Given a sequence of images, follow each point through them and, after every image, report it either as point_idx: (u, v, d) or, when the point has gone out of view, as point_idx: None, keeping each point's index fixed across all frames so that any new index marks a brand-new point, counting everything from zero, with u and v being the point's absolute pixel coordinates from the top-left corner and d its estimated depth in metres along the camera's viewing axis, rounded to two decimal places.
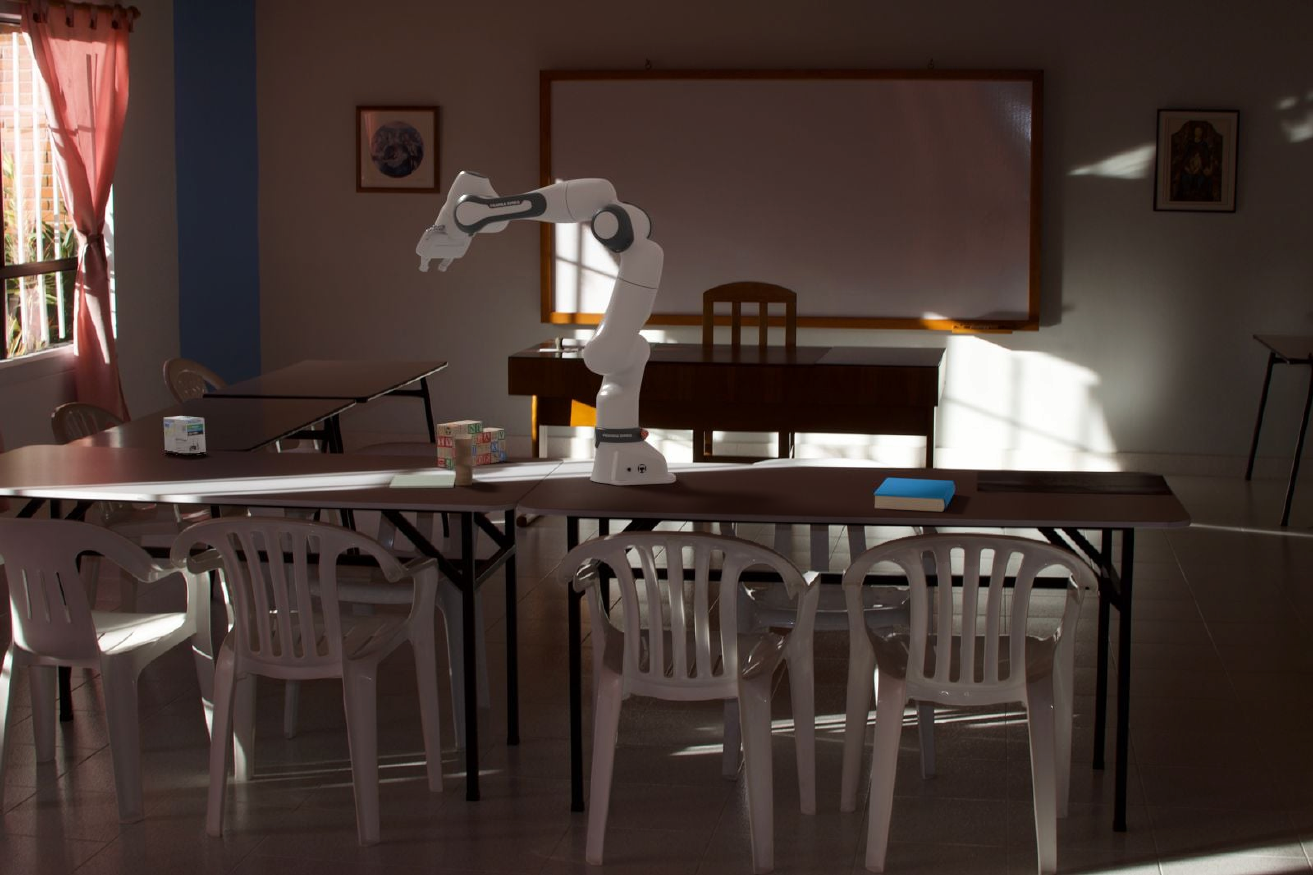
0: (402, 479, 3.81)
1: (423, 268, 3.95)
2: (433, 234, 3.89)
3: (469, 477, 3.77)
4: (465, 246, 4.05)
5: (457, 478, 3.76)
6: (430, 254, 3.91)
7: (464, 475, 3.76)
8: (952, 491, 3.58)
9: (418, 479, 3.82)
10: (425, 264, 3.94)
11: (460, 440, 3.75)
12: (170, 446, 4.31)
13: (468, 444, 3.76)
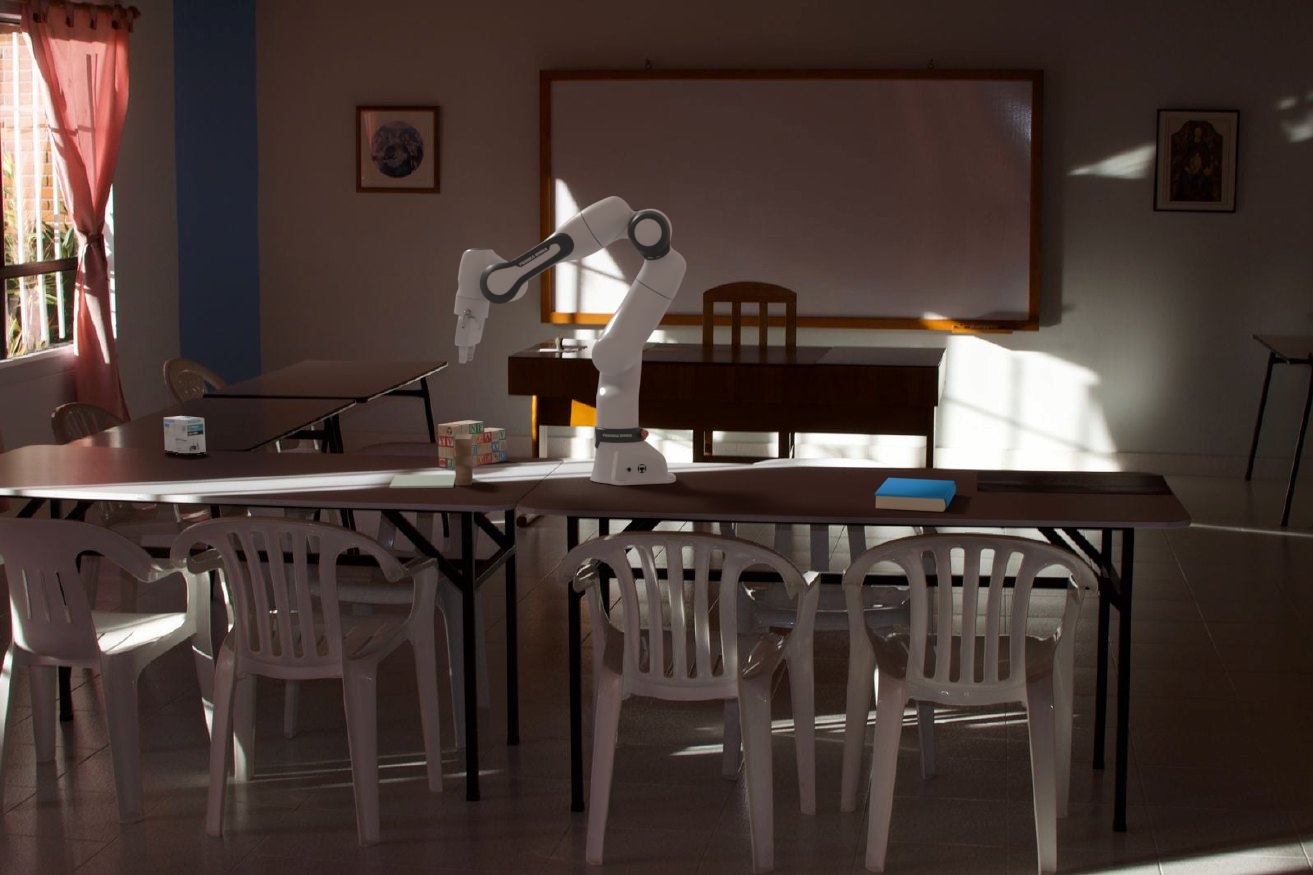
0: (402, 479, 3.81)
1: (463, 359, 3.77)
2: (468, 319, 3.73)
3: (469, 477, 3.77)
4: (481, 329, 3.90)
5: (457, 478, 3.76)
6: (470, 341, 3.74)
7: (464, 475, 3.76)
8: (953, 491, 3.58)
9: (418, 479, 3.82)
10: (465, 354, 3.77)
11: (460, 440, 3.75)
12: (170, 446, 4.31)
13: (468, 444, 3.76)
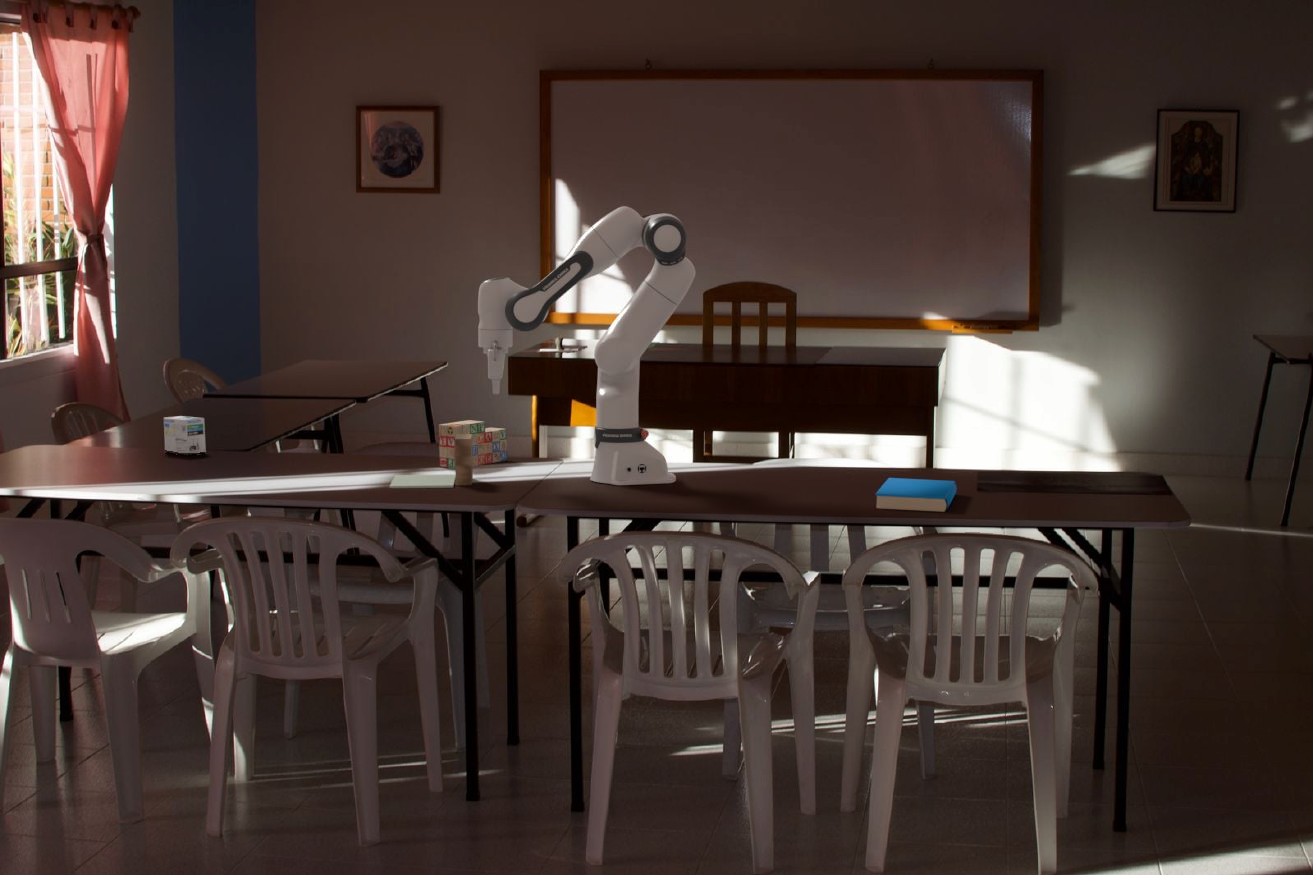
0: (402, 479, 3.81)
1: (497, 390, 3.78)
2: (498, 351, 3.69)
3: (469, 477, 3.77)
4: (503, 358, 3.87)
5: (457, 478, 3.76)
6: None
7: (464, 475, 3.76)
8: (954, 491, 3.58)
9: (418, 479, 3.82)
10: (498, 385, 3.77)
11: (460, 440, 3.75)
12: (170, 446, 4.31)
13: (468, 444, 3.76)
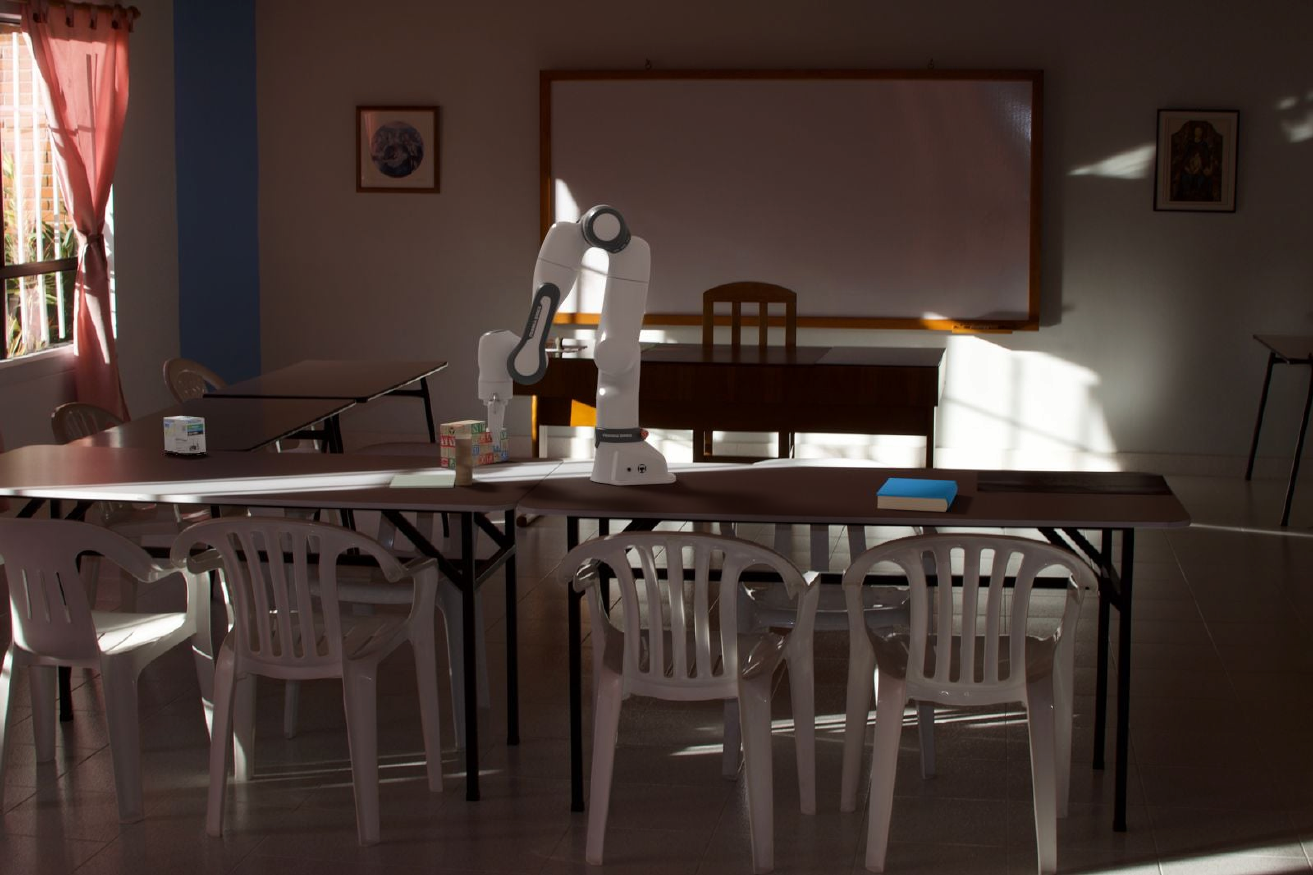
0: (402, 479, 3.81)
1: (497, 441, 3.80)
2: (498, 404, 3.71)
3: (469, 477, 3.77)
4: (503, 408, 3.88)
5: (457, 478, 3.76)
6: None
7: (464, 475, 3.76)
8: (954, 491, 3.58)
9: (418, 479, 3.82)
10: (498, 436, 3.79)
11: (460, 440, 3.75)
12: (170, 446, 4.31)
13: (468, 444, 3.76)
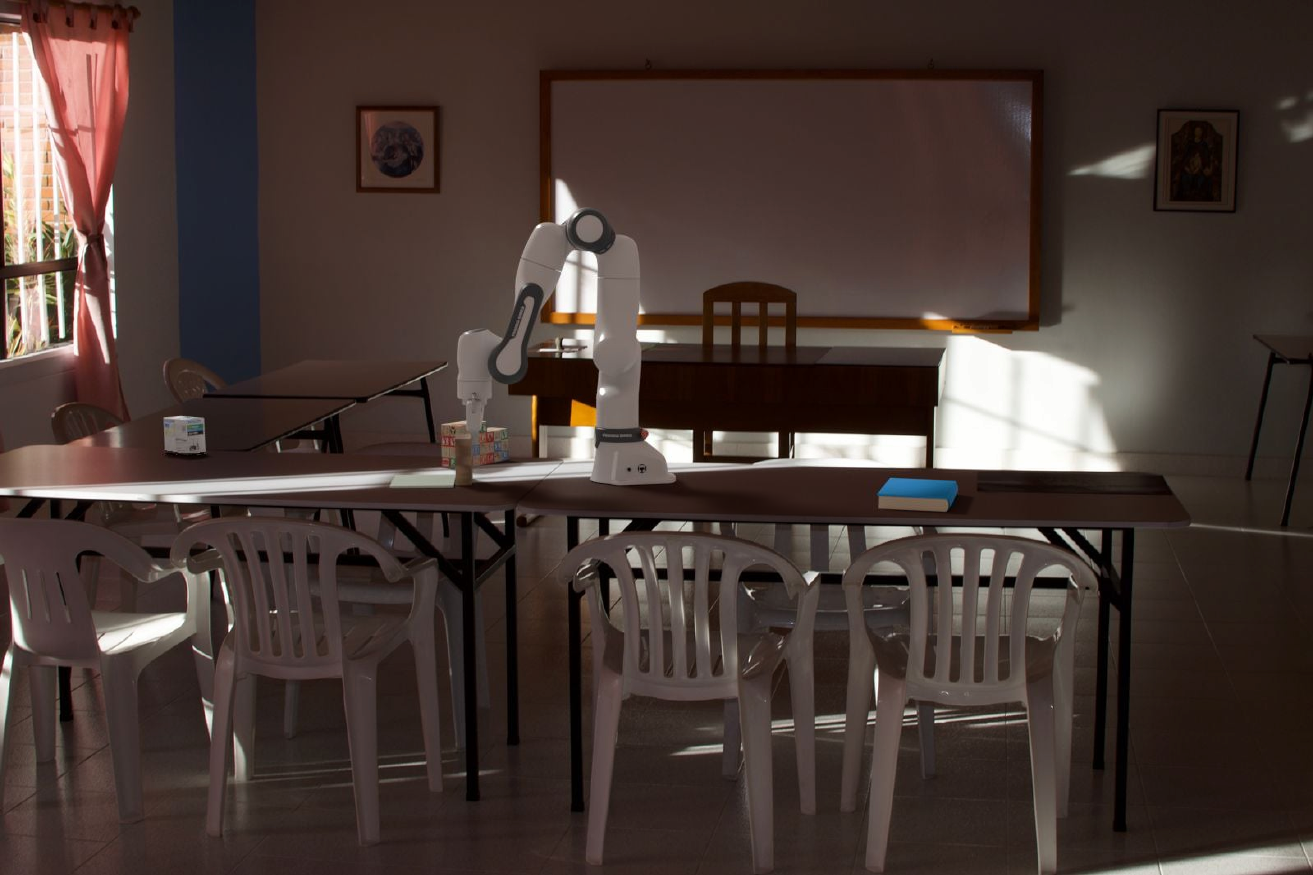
0: (402, 479, 3.81)
1: (476, 441, 3.79)
2: (476, 403, 3.71)
3: (469, 477, 3.77)
4: (483, 408, 3.88)
5: (457, 478, 3.76)
6: None
7: (464, 475, 3.76)
8: (955, 491, 3.58)
9: (418, 479, 3.82)
10: (477, 436, 3.79)
11: (460, 440, 3.75)
12: (170, 446, 4.31)
13: (468, 444, 3.76)
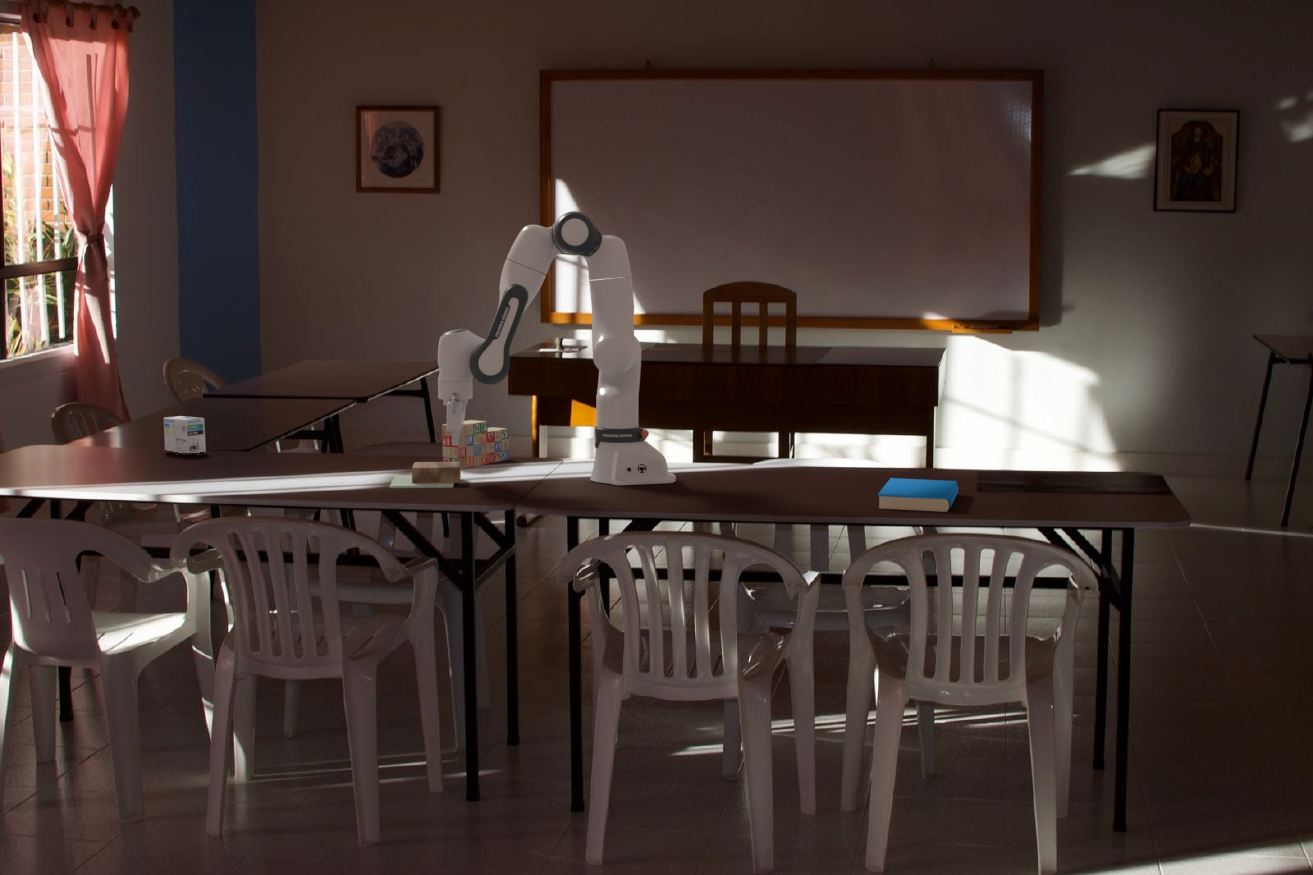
0: (402, 479, 3.81)
1: (457, 442, 3.79)
2: (457, 404, 3.70)
3: (451, 469, 3.76)
4: (464, 408, 3.88)
5: (452, 481, 3.76)
6: (461, 425, 3.72)
7: (448, 474, 3.76)
8: (956, 491, 3.58)
9: None
10: (458, 436, 3.78)
11: (413, 478, 3.75)
12: (170, 446, 4.31)
13: (417, 470, 3.75)
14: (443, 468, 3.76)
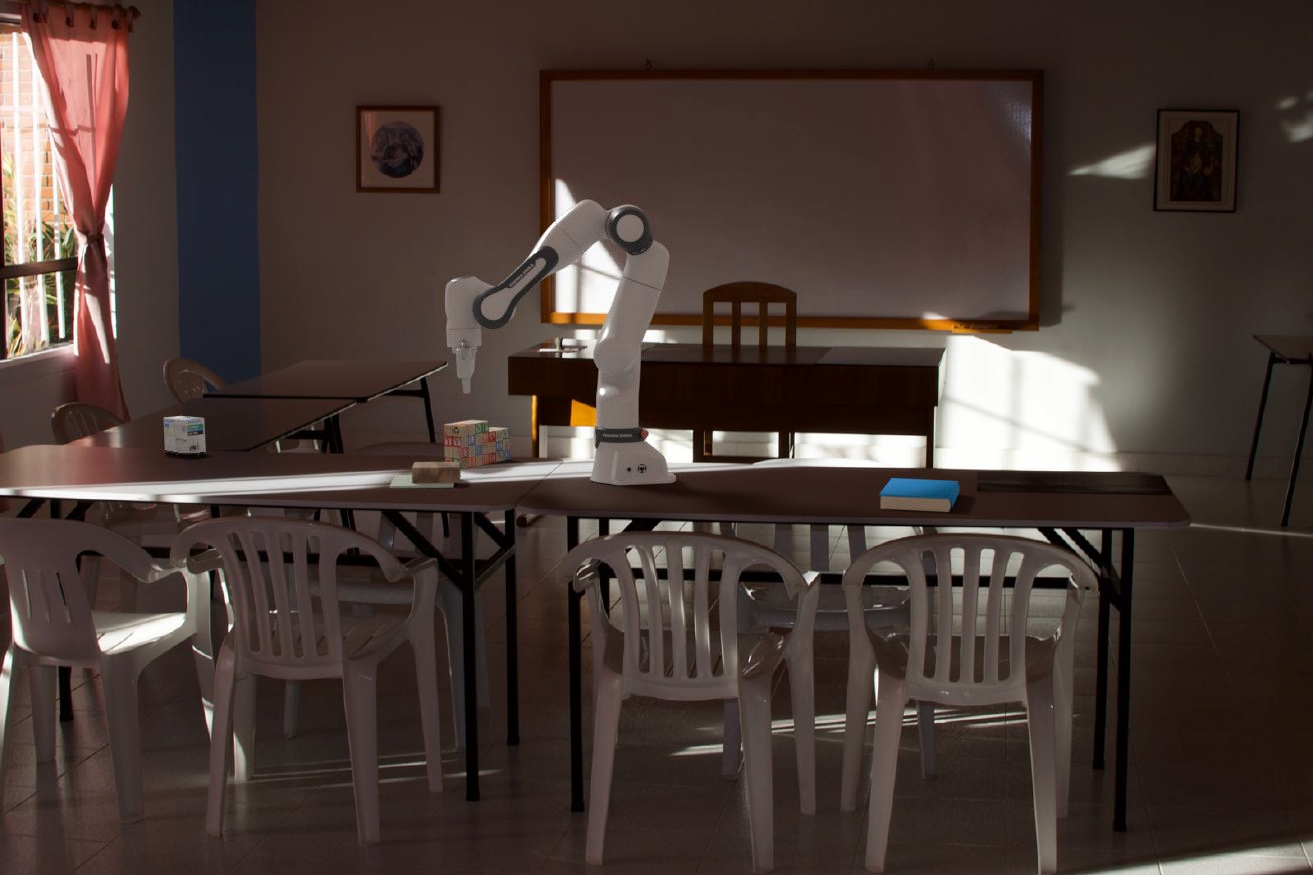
0: (402, 479, 3.81)
1: (467, 389, 3.77)
2: (466, 350, 3.69)
3: (451, 469, 3.76)
4: (473, 357, 3.86)
5: (452, 481, 3.76)
6: None
7: (448, 474, 3.76)
8: (957, 491, 3.58)
9: None
10: (468, 384, 3.77)
11: (413, 478, 3.75)
12: (170, 446, 4.31)
13: (417, 470, 3.75)
14: (443, 468, 3.76)
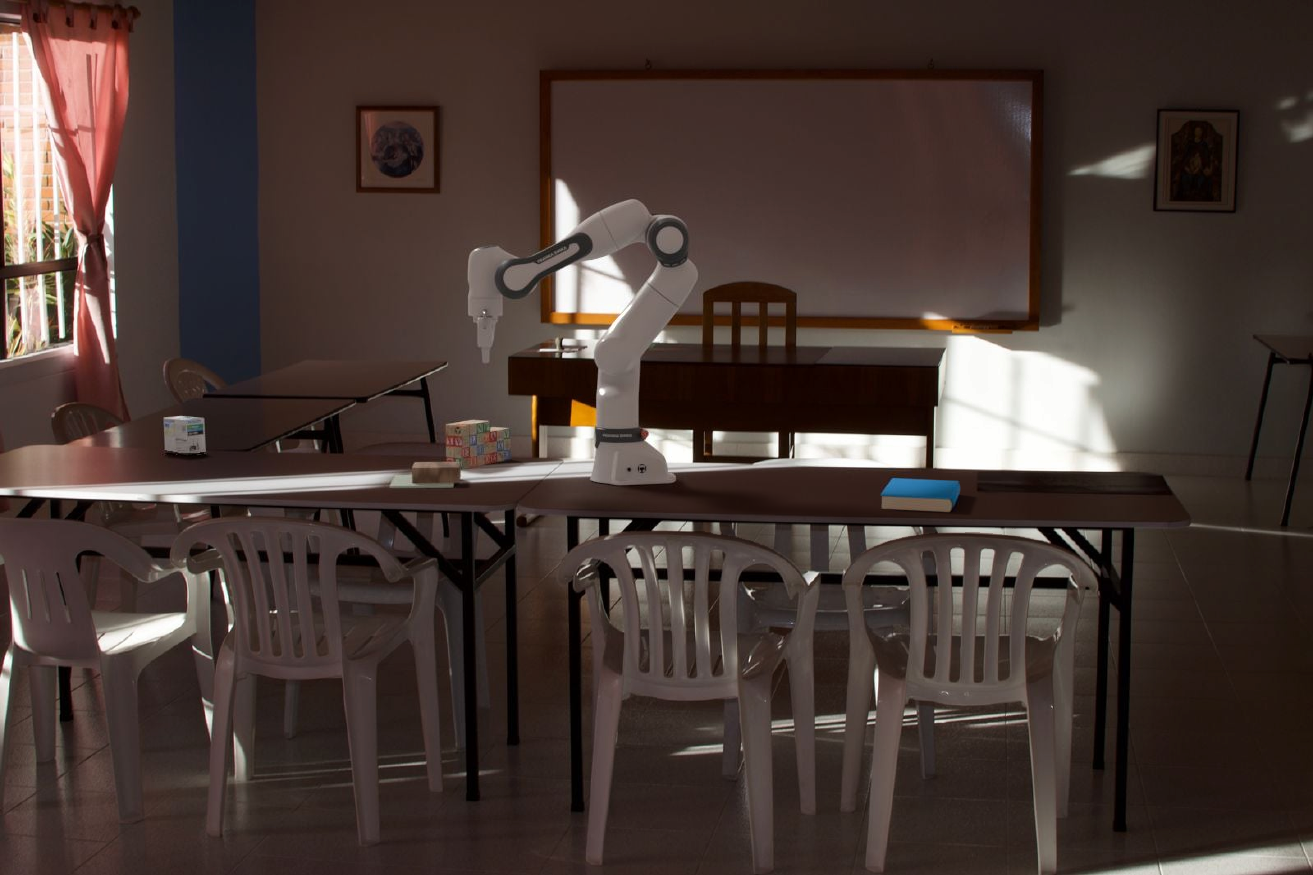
0: (402, 479, 3.81)
1: (487, 359, 3.77)
2: (488, 319, 3.68)
3: (451, 469, 3.76)
4: (493, 327, 3.85)
5: (452, 481, 3.76)
6: None
7: (448, 474, 3.76)
8: (958, 491, 3.58)
9: None
10: (488, 354, 3.76)
11: (413, 478, 3.75)
12: (170, 446, 4.31)
13: (417, 470, 3.75)
14: (443, 468, 3.76)
